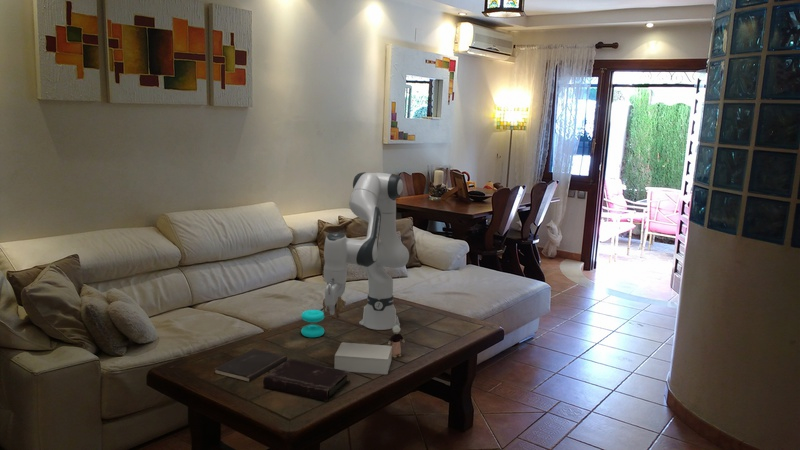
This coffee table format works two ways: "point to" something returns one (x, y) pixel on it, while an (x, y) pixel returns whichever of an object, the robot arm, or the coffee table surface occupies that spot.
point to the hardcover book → (250, 365)
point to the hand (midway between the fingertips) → (334, 310)
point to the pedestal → (363, 358)
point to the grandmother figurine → (396, 341)
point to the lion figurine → (338, 307)
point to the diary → (306, 379)
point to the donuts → (312, 329)
